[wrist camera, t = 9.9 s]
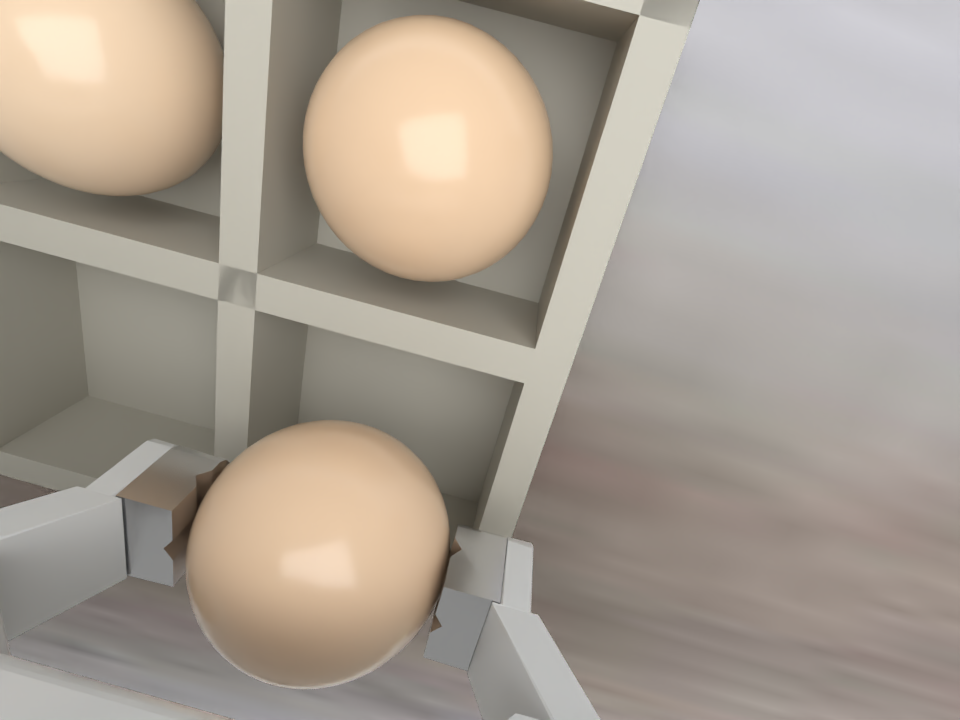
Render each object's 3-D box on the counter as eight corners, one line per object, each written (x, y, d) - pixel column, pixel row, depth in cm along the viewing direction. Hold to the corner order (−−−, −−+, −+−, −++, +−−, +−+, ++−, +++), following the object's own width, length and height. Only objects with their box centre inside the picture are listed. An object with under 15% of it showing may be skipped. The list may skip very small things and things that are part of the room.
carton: (81, 401, 17) (-29, 466, 14) (24, -155, 11) (-191, -269, 8) (498, 516, 17) (485, 610, 14) (664, 12, 11) (712, -35, 8)
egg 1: (88, 157, 13) (-126, 173, 9) (70, -67, 11) (-213, -180, 7) (264, 204, 13) (132, 243, 9) (278, -13, 11) (115, -94, 7)
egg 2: (342, 225, 13) (244, 273, 9) (369, 11, 11) (260, -55, 7) (521, 274, 13) (507, 344, 9) (580, 67, 11) (597, 33, 7)
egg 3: (275, 353, 11) (106, 494, 7) (488, 412, 11) (449, 591, 7) (262, 519, 13) (124, 707, 9) (443, 570, 13) (391, 783, 9)
